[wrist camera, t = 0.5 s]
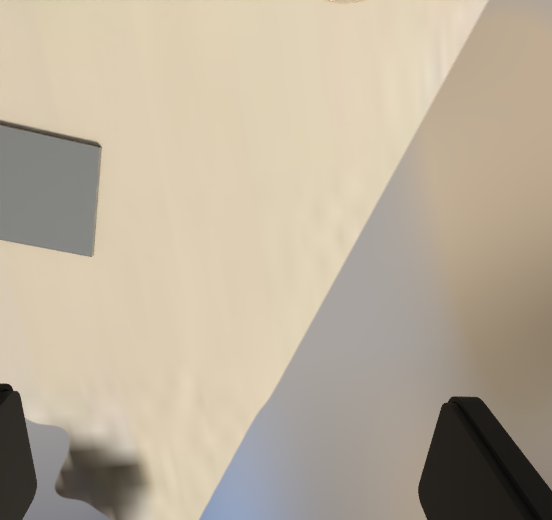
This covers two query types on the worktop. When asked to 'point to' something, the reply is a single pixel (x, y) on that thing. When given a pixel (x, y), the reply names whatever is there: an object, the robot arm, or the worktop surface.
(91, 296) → the worktop surface
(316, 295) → the worktop surface
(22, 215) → the coaster
